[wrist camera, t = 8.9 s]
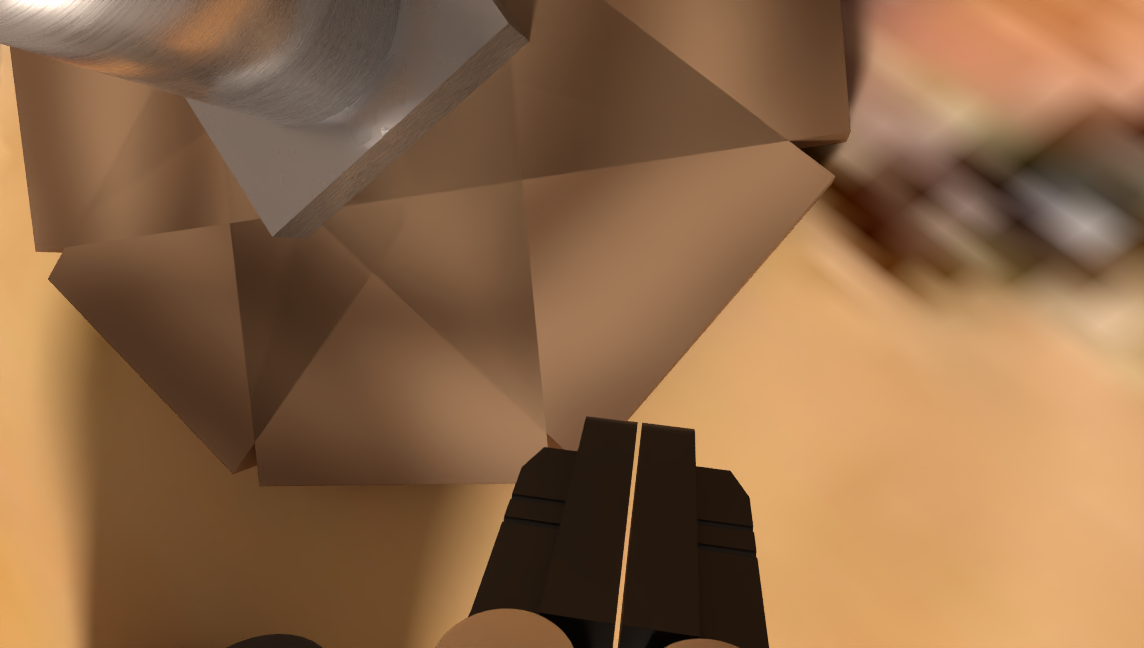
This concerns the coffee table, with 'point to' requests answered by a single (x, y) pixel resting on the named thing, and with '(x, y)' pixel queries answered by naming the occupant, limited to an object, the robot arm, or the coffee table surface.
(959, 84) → the coffee table surface
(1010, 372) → the coffee table surface
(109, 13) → the silver post on plate
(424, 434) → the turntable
